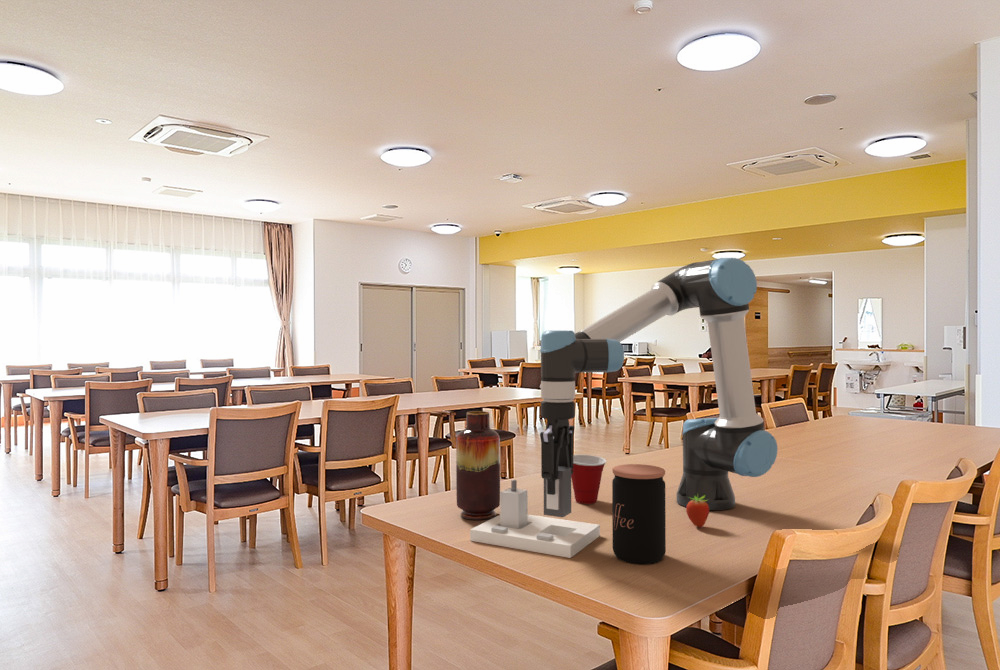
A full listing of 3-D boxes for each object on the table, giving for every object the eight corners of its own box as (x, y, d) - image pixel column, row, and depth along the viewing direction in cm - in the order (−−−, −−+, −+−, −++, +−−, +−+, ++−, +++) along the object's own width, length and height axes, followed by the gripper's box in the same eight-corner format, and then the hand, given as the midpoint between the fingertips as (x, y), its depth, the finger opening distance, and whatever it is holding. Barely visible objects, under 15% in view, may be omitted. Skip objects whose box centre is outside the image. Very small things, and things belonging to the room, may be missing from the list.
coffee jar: (606, 549, 141) (606, 464, 141) (655, 547, 142) (655, 463, 142) (620, 566, 130) (619, 475, 130) (673, 564, 131) (672, 474, 131)
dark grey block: (571, 512, 147) (571, 467, 147) (563, 517, 142) (562, 471, 143) (552, 509, 149) (552, 465, 149) (543, 514, 145) (543, 469, 145)
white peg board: (599, 535, 150) (599, 481, 150) (570, 558, 135) (570, 497, 135) (506, 521, 162) (506, 470, 162) (470, 540, 147) (470, 484, 147)
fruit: (705, 531, 153) (705, 497, 153) (683, 528, 156) (683, 494, 156) (711, 525, 157) (711, 492, 157) (690, 522, 160) (690, 489, 160)
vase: (467, 523, 160) (467, 415, 160) (449, 513, 170) (449, 411, 170) (507, 517, 165) (507, 413, 165) (488, 507, 175) (487, 409, 175)
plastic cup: (586, 508, 173) (586, 463, 173) (558, 500, 182) (558, 457, 182) (615, 502, 180) (614, 458, 180) (587, 494, 188) (586, 452, 188)
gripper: (558, 396, 155) (558, 495, 155) (524, 402, 140) (524, 513, 140) (588, 397, 152) (588, 499, 152) (557, 404, 136) (557, 518, 136)
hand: (557, 505), depth 146 cm, fingers closed on dark grey block, 5 cm apart
